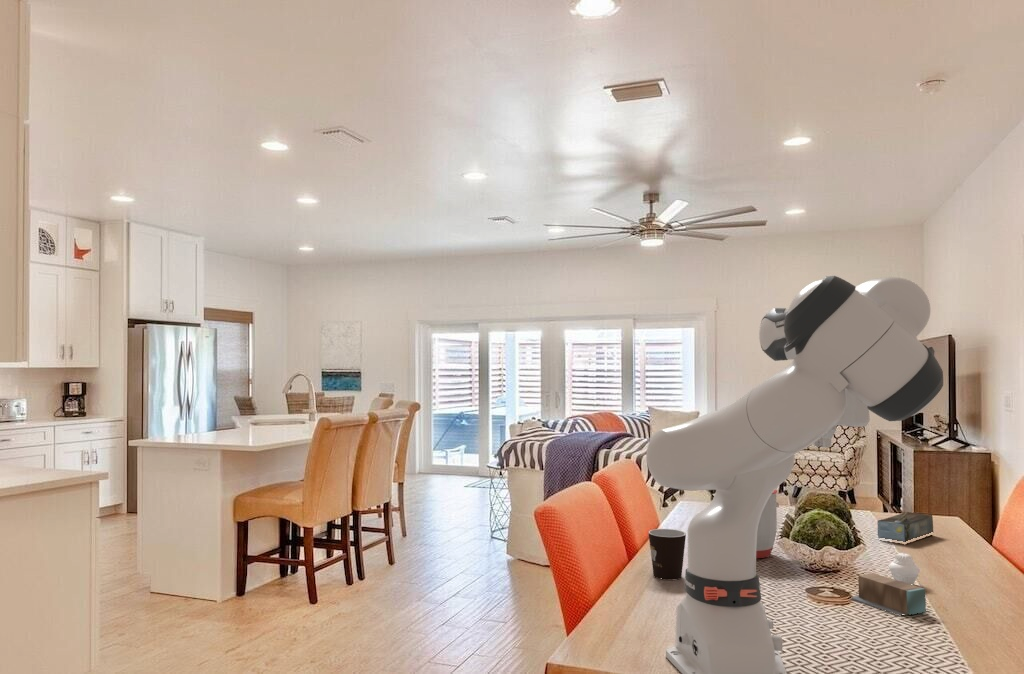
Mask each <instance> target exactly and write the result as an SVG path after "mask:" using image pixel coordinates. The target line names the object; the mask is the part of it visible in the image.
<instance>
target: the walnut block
mask: <svg viewBox="0 0 1024 674" xmlns="http://www.w3.org/2000/svg"><path fill="white" fill-rule="evenodd" d="M857 579H858V580H857V581H858V596H859V598H862V599H865V600H868V601H871V602H874V603H877V604H880V605H882V606H885V607H888V608H891V609H894V610H897V611H900V612H903V613H906V614H909V615H908V616H911V614H912V615H917V613H918V614H923V613H926V612H927V611H926V609H927V608H926V604H927V603H926V602H927V601H926V599H927V598H926V588H925V587H920V586H917V585H914V584H913V585H911V584H907V583H904V582H901V581H897V580H894V578H890V577H887V576H884V575H880V574H876V573H866V574H861V575H860V574H859V575H858V577H857ZM922 612H923V613H922Z"/></svg>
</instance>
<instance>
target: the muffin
mask: <svg viewBox="0 0 1024 674" xmlns="http://www.w3.org/2000/svg"><path fill="white" fill-rule="evenodd" d="M894 556H895V557H894V558H893V561H891V563H889V565H888V569H889V571H890V574H891V576H892V577H893V578H892V579H894V580H897V581H901V582H904V583H907V584H913V585H914V584H915V582H916V581H917V579H918V577H919V573H920V567H919V565H917V564H916V562H915V561H914V560H913V559H914V558H913V556H912V555H911V554H909V553H905V552H901V553H900V552H899V553H897V554H895V555H894Z"/></svg>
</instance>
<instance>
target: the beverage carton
mask: <svg viewBox="0 0 1024 674" xmlns="http://www.w3.org/2000/svg"><path fill="white" fill-rule="evenodd" d="M931 532H933V533H934V519H933V515H932V514H925V513H921V512H920V513H919V512H909V511H905V512H902V513H900V514H896V515H894V516H890V517H886V518H883V519H879V520H877V536H878V538H885V539H892V540H897V541H903V542H906V541H908V540H911V539H913V538H917V537H920V536H923V535H926V534H929V533H931Z"/></svg>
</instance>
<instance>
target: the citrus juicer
mask: <svg viewBox="0 0 1024 674" xmlns="http://www.w3.org/2000/svg"><path fill="white" fill-rule="evenodd" d="M777 493H778V490H777V489H775V490H774V492H773V493H772V494H771V496H770V497H769V499H768V501H767V503H766V505H765V507H764V509H763V511H762V514H761V517H760V520H759V524H758V530H757V544H756V559H764V558H767V557H770V556H771V554H772V551H773V549H774V544H775V541H776V537H777V525H778V522H777V519H778V517H777V512H778V511H777V508H779V506H780V505H779V503H778V501H777Z"/></svg>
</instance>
